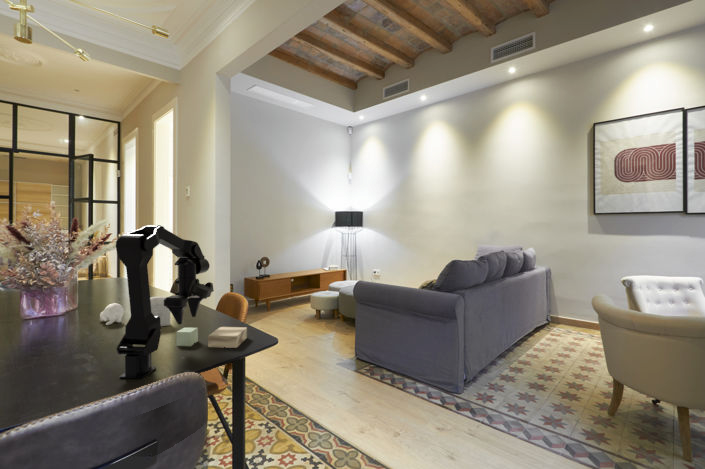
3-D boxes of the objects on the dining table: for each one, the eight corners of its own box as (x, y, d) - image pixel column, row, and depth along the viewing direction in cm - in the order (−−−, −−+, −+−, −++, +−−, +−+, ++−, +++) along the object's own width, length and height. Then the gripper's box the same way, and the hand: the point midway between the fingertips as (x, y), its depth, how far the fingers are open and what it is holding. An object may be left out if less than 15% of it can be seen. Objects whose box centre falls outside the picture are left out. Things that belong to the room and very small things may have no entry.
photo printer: (170, 323, 141) (170, 294, 140) (170, 325, 137) (170, 296, 137) (141, 327, 135) (141, 297, 135) (141, 329, 131) (141, 299, 131)
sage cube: (190, 346, 115) (190, 332, 114) (176, 346, 115) (176, 331, 115) (197, 341, 120) (197, 327, 119) (184, 341, 120) (184, 327, 120)
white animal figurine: (108, 305, 135) (93, 304, 141) (109, 326, 135) (94, 324, 141) (124, 302, 141) (110, 301, 146) (126, 322, 140) (111, 320, 146)
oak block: (236, 347, 113) (236, 336, 113) (208, 347, 114) (208, 335, 114) (246, 337, 123) (246, 327, 123) (220, 337, 124) (220, 326, 124)
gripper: (196, 281, 107) (196, 329, 107) (220, 273, 125) (220, 313, 126) (162, 281, 107) (162, 328, 108) (192, 272, 126) (192, 313, 126)
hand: (187, 320), depth 117 cm, fingers open, 9 cm apart
